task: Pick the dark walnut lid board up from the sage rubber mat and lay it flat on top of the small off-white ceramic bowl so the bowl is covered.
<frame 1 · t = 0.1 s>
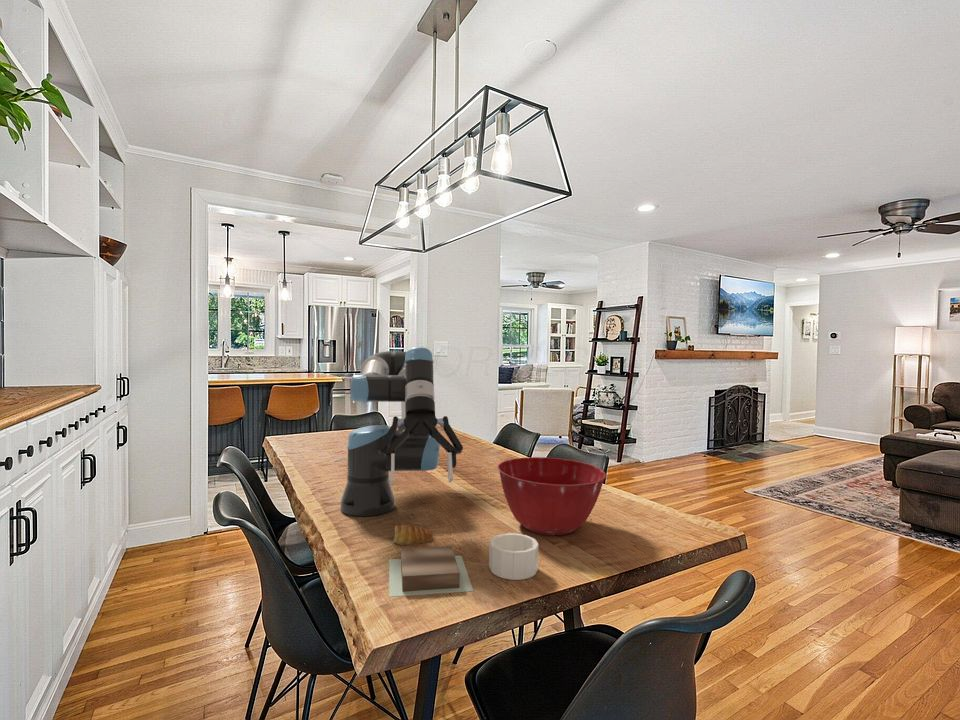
hand: (422, 481, 116), 15 cm above the table, tool tilted 35°, fingers open, 13 cm apart
bowl: (513, 570, 106), on the table
pastry: (409, 541, 121), on the table
mat: (428, 575, 102), on the table
mixing bowl: (549, 526, 132), on the table
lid: (428, 574, 102), resting on mat
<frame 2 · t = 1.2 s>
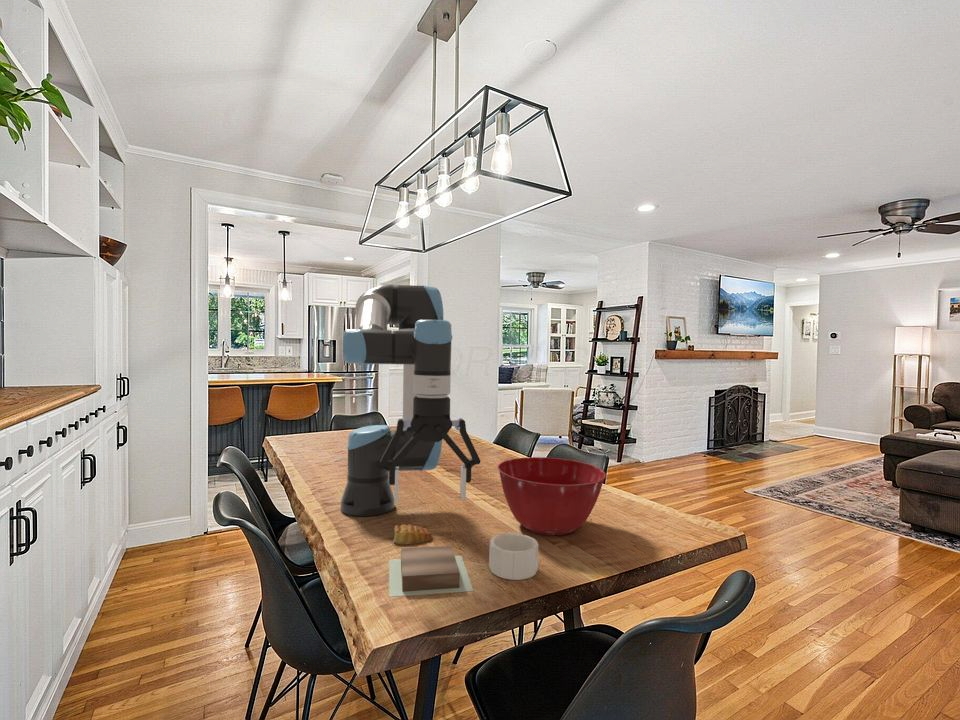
hand: (430, 499, 102), 16 cm above the table, tool pointing down, fingers open, 13 cm apart
nothing on the table moved.
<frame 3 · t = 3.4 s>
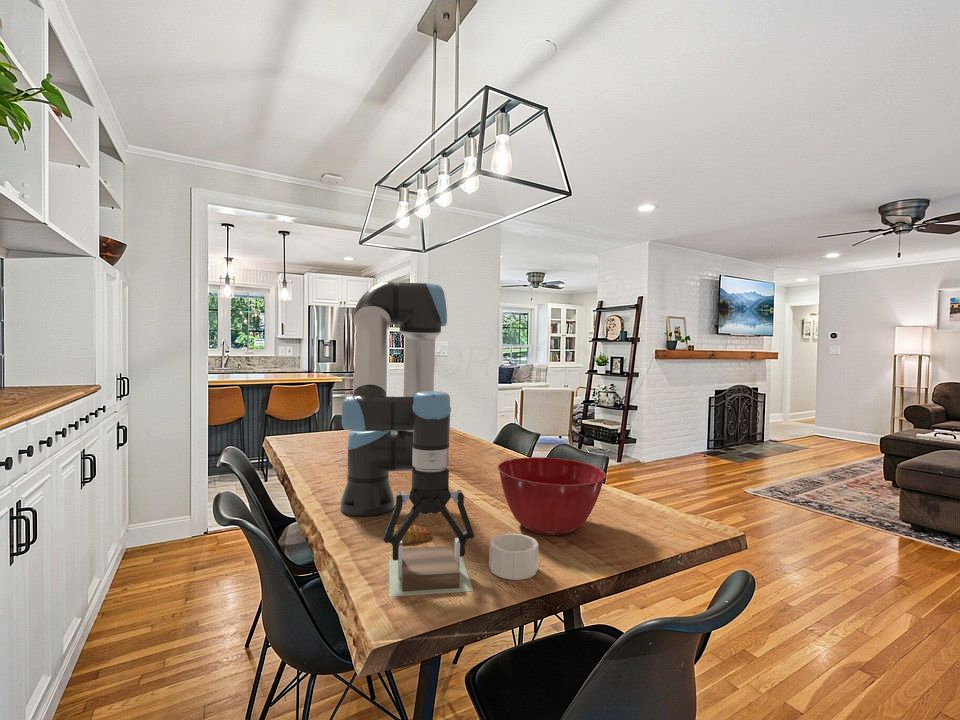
hand: (428, 573, 102), 1 cm above the table, tool pointing down, fingers closed on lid, mat, 11 cm apart
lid: (428, 574, 102), resting on mat, touching gripper
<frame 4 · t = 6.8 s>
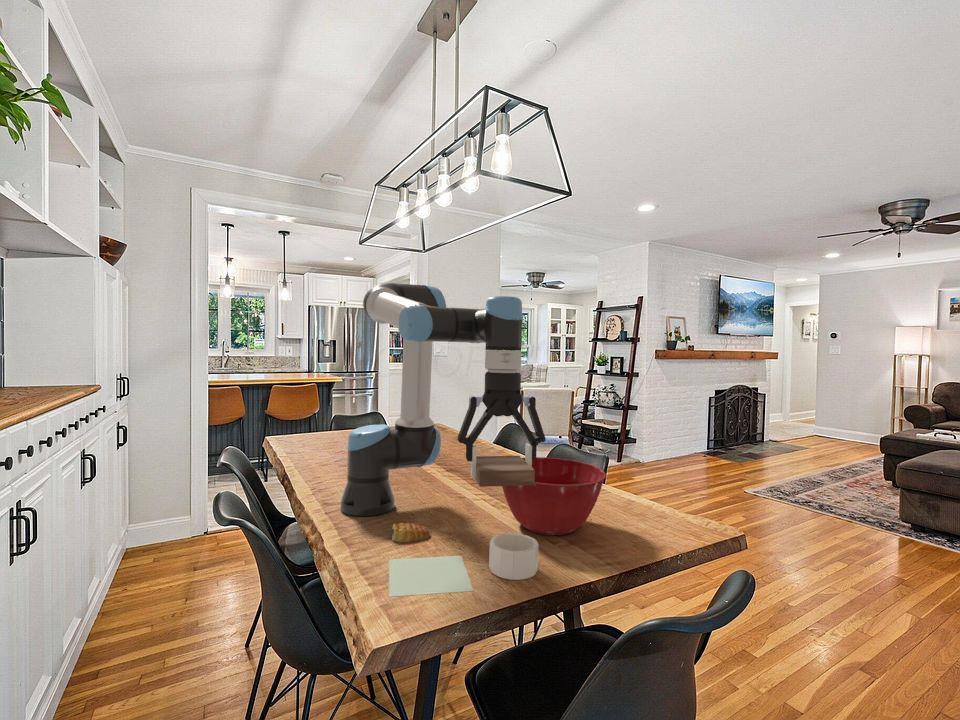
hand: (500, 476, 104), 20 cm above the table, tool pointing down, fingers closed on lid, 11 cm apart
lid: (500, 477, 104), point 20 cm above the table, touching gripper
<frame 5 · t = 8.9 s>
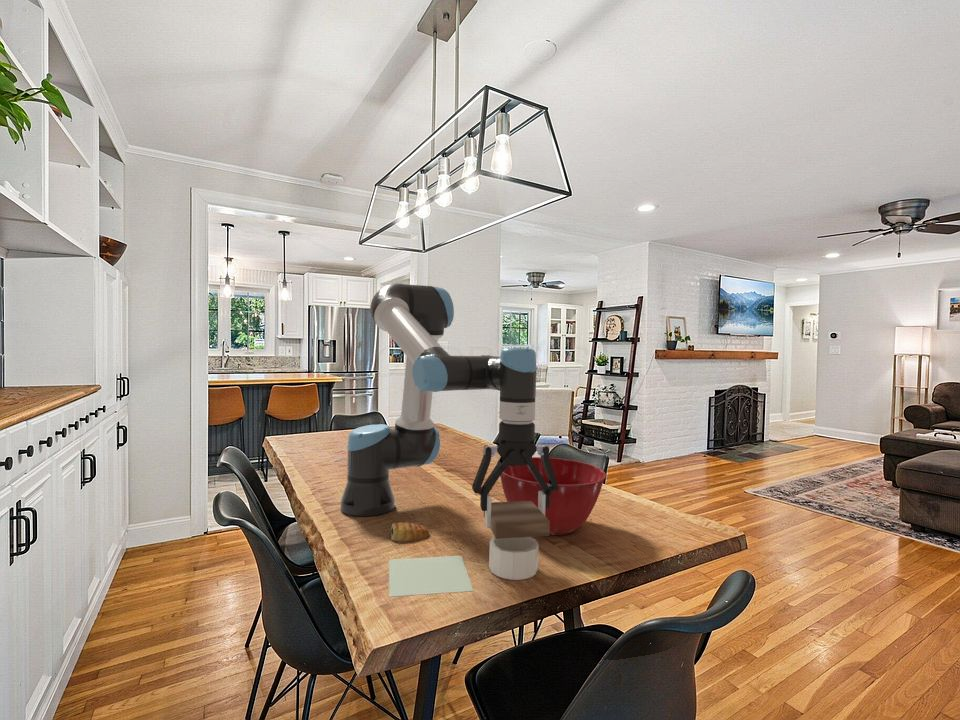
hand: (514, 524, 105), 10 cm above the table, tool pointing down, fingers closed on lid, 11 cm apart
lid: (514, 525, 105), point 10 cm above the table, touching gripper
when the fingers open (8 cm above the table, at t = 10.4 s): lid drops 1 cm, resting on bowl.
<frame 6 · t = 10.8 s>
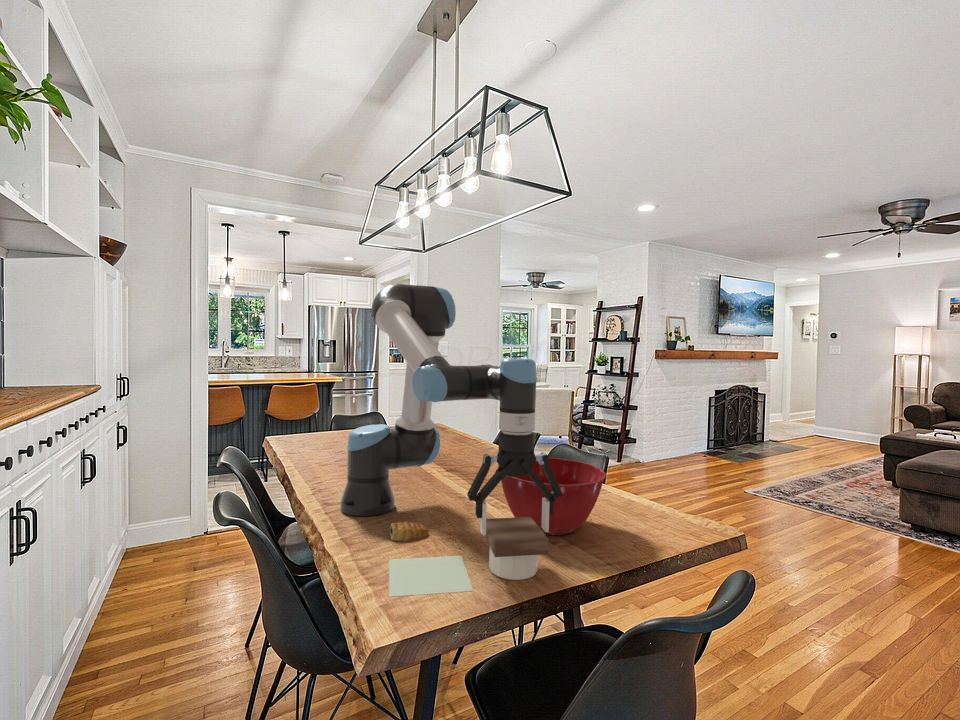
hand: (514, 531, 105), 8 cm above the table, tool pointing down, fingers open, 13 cm apart
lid: (513, 542, 105), point 6 cm above the table, touching bowl
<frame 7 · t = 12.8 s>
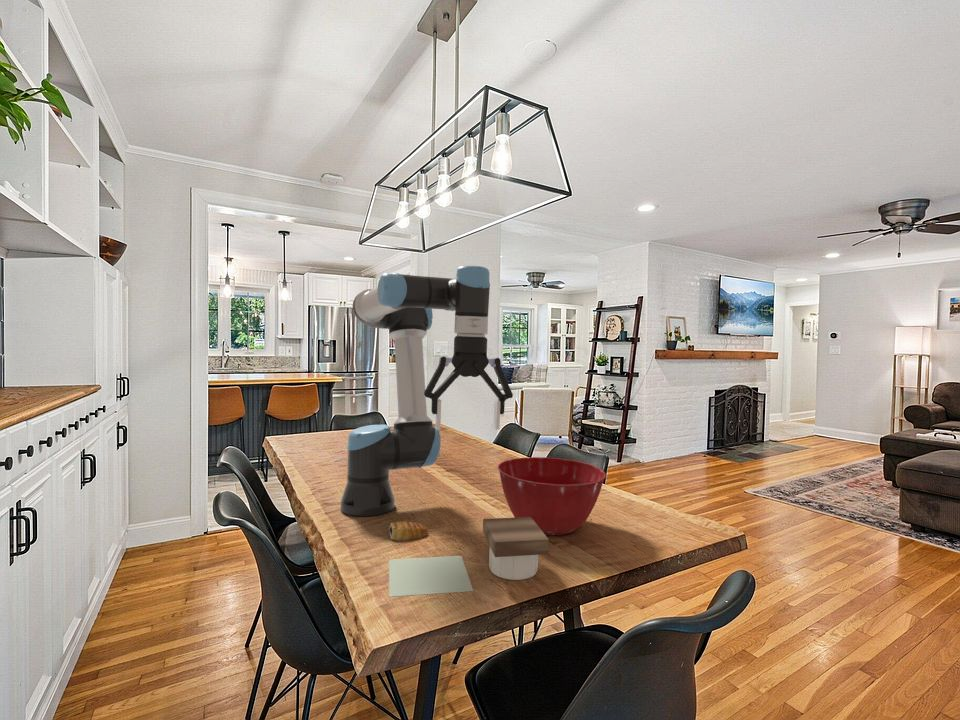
hand: (467, 428, 114), 29 cm above the table, tool pointing down, fingers open, 13 cm apart
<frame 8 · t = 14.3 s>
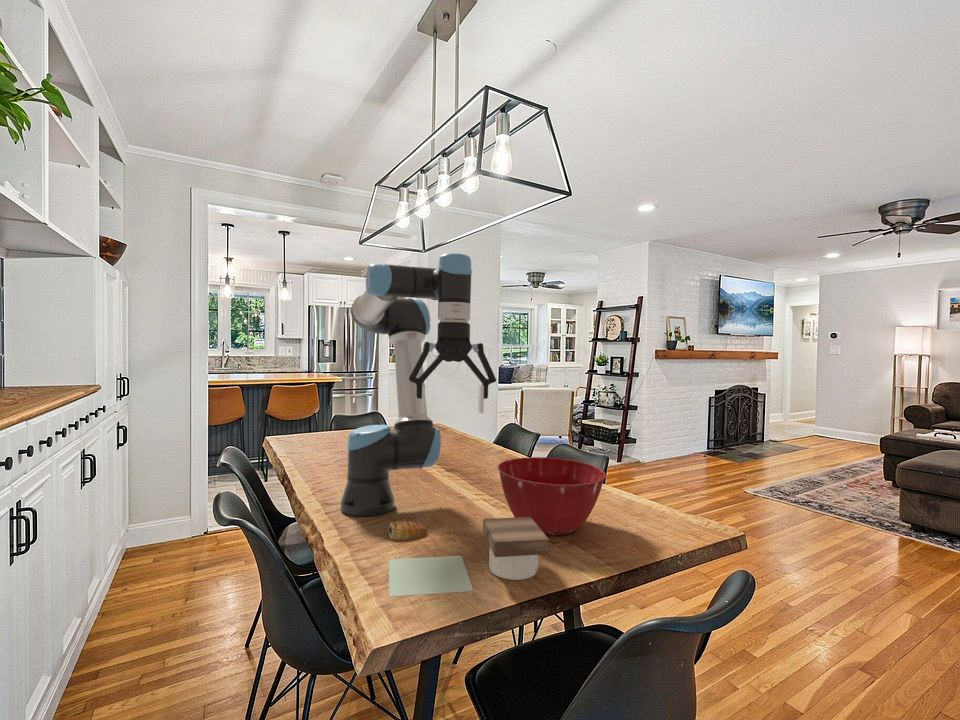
hand: (452, 412, 116), 32 cm above the table, tool pointing down, fingers open, 13 cm apart
at the end: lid 0.0 cm from the bowl (horizontally); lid point 6.0 cm above the table; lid tilted 0° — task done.
